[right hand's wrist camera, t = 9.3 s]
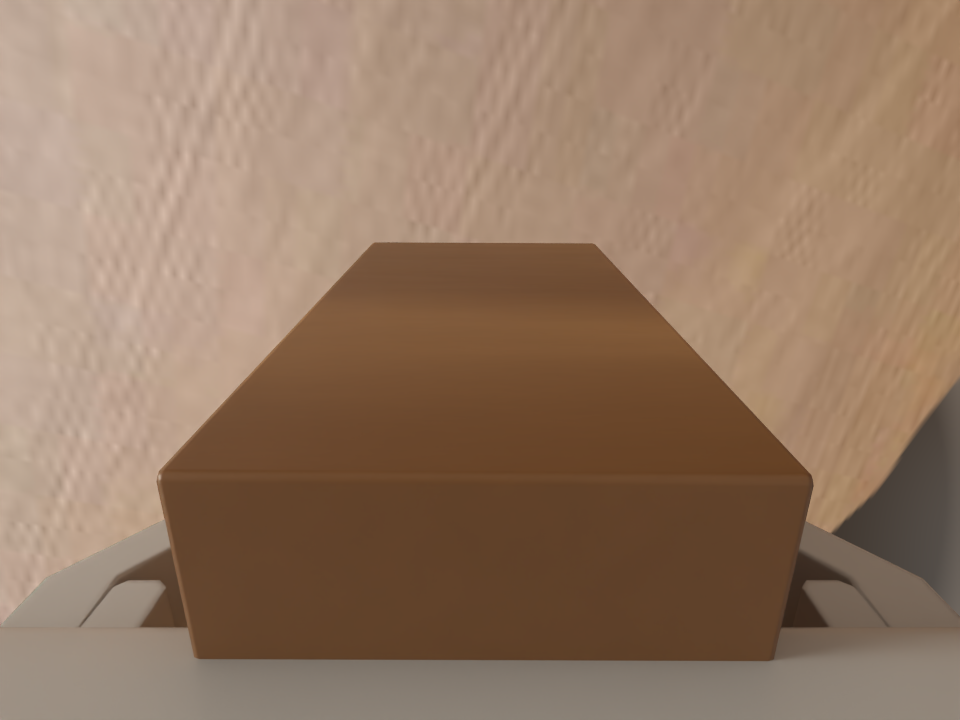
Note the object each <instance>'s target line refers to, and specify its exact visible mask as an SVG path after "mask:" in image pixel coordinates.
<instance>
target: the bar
mask: <svg viewBox="0 0 960 720" xmlns="http://www.w3.org/2000/svg"><path fill="white" fill-rule="evenodd" d="M157 485H158V490H159V495H160V500H161V504H162V509H163V514H164V518H165V523H166V528H167V532H168V537H169V542H170V546H171V551H172V556H173V560H174V565H175V570H176V575H177V579H178V584H179V589H180V593H181V598H182V603H183V607H184V612H185V617H186V621H187V626H188V631H189V636H190V640H191V645H192V650H193V654H194V657H195V658H198V659H294V660H582V661H770V660H773V659H774V656H775V651H776V647H777V643H778V638H779V634H780V630H781V625H782V621H783V617H784V612H785V608H786V603H787V599H788V595H789V590H790V586H791V582H792V577H793V573H794V569H795V564H796V560H797V555H798V551H799V547H800V542H801V538H802V534H803V529H804V525H805V521H806V516H807V512H808V507H809V503H810V499H811V494H812V490H813V479H812V476H811V474H810V473H809V472H808V471H807V470H806V469H805V468H804V467H803V466H802V465H801V464H800V463H799V462H798V461H797V459H796V458H795V457H794V456H793V455H792V454H791V453H790V452H789V451H788V450H787V449H786V448H785V447H784V446H783V445H782V443H781V442H780V441H779V440H778V439H777V438H776V437H775V436H774V435H773V434H772V433H771V432H770V431H769V430H768V429H767V427H766V426H765V425H764V424H763V423H762V422H761V421H760V420H759V419H758V418H757V417H756V416H755V415H754V414H753V413H752V411H751V410H750V409H749V408H748V407H747V406H746V405H745V404H744V403H743V402H742V401H741V400H740V399H739V398H738V397H737V395H736V394H735V393H734V392H733V391H732V390H731V389H730V388H729V387H728V386H727V385H726V384H725V383H724V382H723V381H722V379H721V378H720V377H719V376H718V375H717V374H716V373H715V372H714V371H713V370H712V369H711V368H710V367H709V366H708V365H707V363H706V362H705V361H704V360H703V359H702V358H701V357H700V356H699V355H698V354H697V353H696V352H695V351H694V350H693V349H692V347H691V346H690V345H689V344H688V343H687V342H686V341H685V340H684V339H683V338H682V337H681V336H680V335H679V334H678V333H677V331H676V330H675V329H674V328H673V327H672V326H671V325H670V324H669V323H668V322H667V321H666V320H665V319H664V318H663V317H662V315H661V314H660V313H659V312H658V311H657V310H656V309H655V308H654V307H653V306H652V305H651V304H650V303H649V302H648V301H647V299H646V298H645V297H644V296H643V295H642V294H641V293H640V292H639V291H638V290H637V289H636V288H635V287H634V286H633V285H632V283H631V282H630V281H629V280H628V279H627V278H626V277H625V276H624V275H623V274H622V273H621V272H620V271H619V270H618V269H617V267H616V266H615V265H614V264H613V263H612V262H611V261H610V260H609V259H608V258H607V257H606V256H605V255H604V254H603V253H602V251H601V250H600V249H599V248H598V247H597V246H596V245H595V244H573V243H373V244H372V245H371V246H370V247H369V248H368V249H367V250H366V251H365V252H364V253H363V254H362V255H361V257H360V258H359V259H358V260H357V261H356V262H355V263H354V264H353V265H352V266H351V267H350V268H349V269H348V270H347V271H346V272H345V274H344V275H343V276H342V277H341V278H340V279H339V280H338V281H337V282H336V283H335V284H334V285H333V286H332V287H331V288H330V290H329V291H328V292H327V293H326V294H325V295H324V296H323V297H322V298H321V299H320V300H319V301H318V302H317V303H316V304H315V306H314V307H313V308H312V309H311V310H310V311H309V312H308V313H307V314H306V315H305V316H304V317H303V318H302V319H301V320H300V322H299V323H298V324H297V325H296V326H295V327H294V328H293V329H292V330H291V331H290V332H289V333H288V334H287V335H286V336H285V338H284V339H283V340H282V341H281V342H280V343H279V344H278V345H277V346H276V347H275V348H274V349H273V350H272V351H271V352H270V354H269V355H268V356H267V357H266V358H265V359H264V360H263V361H262V362H261V363H260V364H259V365H258V366H257V367H256V368H255V370H254V371H253V372H252V373H251V374H250V375H249V376H248V377H247V378H246V379H245V380H244V381H243V382H242V383H241V384H240V386H239V387H238V388H237V389H236V390H235V391H234V392H233V393H232V394H231V395H230V396H229V397H228V398H227V399H226V400H225V402H224V403H223V404H222V405H221V406H220V407H219V408H218V409H217V410H216V411H215V412H214V413H213V414H212V415H211V416H210V418H209V419H208V420H207V421H206V422H205V423H204V424H203V425H202V426H201V427H200V428H199V429H198V430H197V431H196V432H195V434H194V435H193V436H192V437H191V438H190V439H189V440H188V441H187V442H186V443H185V444H184V445H183V446H182V447H181V448H180V449H179V451H178V452H177V453H176V454H175V455H174V456H173V457H172V458H171V459H170V460H169V461H168V462H167V463H166V464H165V465H164V467H163V468H162V469H161V470H160V471H159V473H158V477H157Z"/></svg>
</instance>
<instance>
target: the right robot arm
mask: <svg viewBox="0 0 960 720" xmlns="http://www.w3.org/2000/svg"><path fill="white" fill-rule="evenodd" d="M0 720H960V616H959V615H958V614H957V613H956V612H955V611H954V610H953V609H952V608H951V607H950V606H949V605H948V604H947V603H946V602H945V601H944V600H943V599H942V598H941V597H940V596H939V595H938V594H937V593H936V592H935V591H934V590H933V589H932V588H931V587H930V586H929V585H928V583H927V582H926V581H925V580H924V579H922V578H920V577H918V576H916V575H914V574H912V573H910V572H908V571H906V570H904V569H902V568H900V567H898V566H896V565H894V564H892V563H890V562H888V561H886V560H884V559H882V558H880V557H877V556H875V555H873V554H871V553H869V552H867V551H865V550H863V549H861V548H859V547H857V546H855V545H853V544H851V543H849V542H847V541H845V540H843V539H841V538H839V537H837V536H835V535H833V534H830V533H828V532H826V531H824V530H822V529H820V528H818V527H816V526H814V525H812V524H810V523H808V522H806V521H805V525H804V529H803V534H802V538H801V542H800V547H799V551H798V555H797V560H796V564H795V569H794V573H793V577H792V582H791V586H790V590H789V595H788V599H787V603H786V608H785V612H784V617H783V621H782V625H781V630H780V634H779V638H778V643H777V647H776V651H775V656H774V659H773V660H770V661H582V660H294V659H198V658H195V657H194V654H193V650H192V645H191V640H190V636H189V631H188V626H187V621H186V617H185V612H184V607H183V603H182V598H181V593H180V589H179V584H178V579H177V575H176V570H175V565H174V560H173V556H172V551H171V546H170V542H169V537H168V532H167V528H166V523H165V519H164V520H162V521H160V522H158V523H156V524H154V525H152V526H150V527H148V528H146V529H144V530H142V531H140V532H138V533H136V534H134V535H132V536H130V537H128V538H126V539H124V540H122V541H120V542H118V543H116V544H114V545H112V546H110V547H108V548H106V549H103V550H101V551H99V552H97V553H95V554H93V555H91V556H89V557H87V558H85V559H83V560H81V561H79V562H77V563H75V564H73V565H71V566H69V567H67V568H65V569H63V570H61V571H59V572H57V573H55V574H53V575H51V576H49V577H47V578H45V579H44V580H43V581H42V582H41V584H40V585H39V586H38V587H37V588H36V589H35V590H34V591H33V592H32V593H31V594H30V595H29V596H28V597H27V598H26V599H25V600H24V601H23V602H22V603H21V604H20V605H19V606H18V607H17V608H16V609H15V611H14V612H13V613H12V614H11V615H10V616H9V617H8V618H7V619H6V620H5V621H4V622H3V623H2V624H1V625H0Z"/></svg>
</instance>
